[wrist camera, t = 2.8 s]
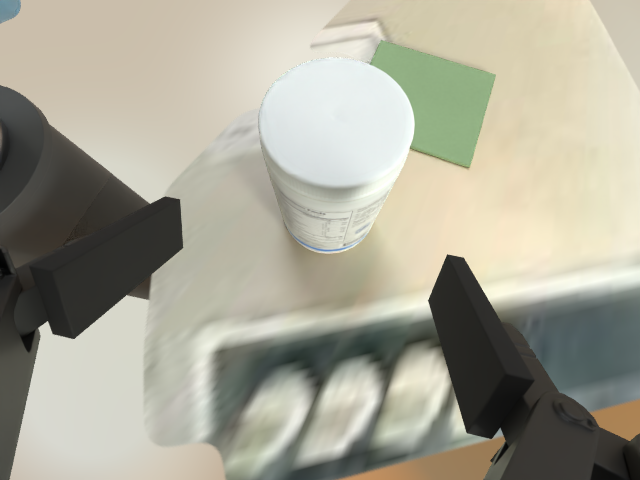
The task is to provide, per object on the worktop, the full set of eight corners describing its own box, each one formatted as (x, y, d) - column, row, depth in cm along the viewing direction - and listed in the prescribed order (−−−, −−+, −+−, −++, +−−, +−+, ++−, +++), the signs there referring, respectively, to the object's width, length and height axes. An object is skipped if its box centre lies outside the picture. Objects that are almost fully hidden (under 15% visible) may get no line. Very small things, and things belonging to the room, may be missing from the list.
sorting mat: (342, 125, 35) (343, 123, 34) (380, 42, 39) (381, 39, 38) (468, 167, 33) (470, 166, 33) (494, 77, 37) (496, 74, 37)
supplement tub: (298, 163, 33) (285, 37, 19) (382, 184, 32) (431, 69, 18) (270, 243, 30) (229, 163, 16) (361, 268, 29) (400, 208, 15)
